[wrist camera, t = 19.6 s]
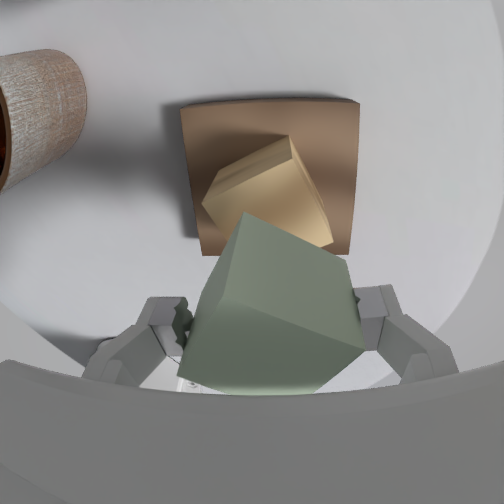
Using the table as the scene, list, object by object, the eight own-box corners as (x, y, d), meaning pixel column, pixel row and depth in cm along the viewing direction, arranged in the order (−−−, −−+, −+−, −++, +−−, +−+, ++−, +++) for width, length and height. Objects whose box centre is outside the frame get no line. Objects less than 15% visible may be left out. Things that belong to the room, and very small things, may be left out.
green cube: (289, 327, 14) (288, 410, 11) (201, 291, 14) (176, 375, 10) (345, 260, 12) (366, 350, 8) (243, 211, 11) (223, 295, 7)
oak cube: (322, 201, 22) (333, 242, 17) (256, 230, 24) (250, 275, 19) (289, 135, 19) (292, 158, 15) (218, 170, 21) (201, 203, 17)
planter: (96, 42, 18) (14, 47, 10) (90, 162, 24) (23, 212, 16) (11, 56, 17) (-63, 75, 10) (13, 156, 24) (-51, 197, 16)
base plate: (343, 238, 26) (348, 254, 24) (208, 239, 28) (202, 255, 26) (351, 99, 20) (359, 103, 18) (189, 104, 21) (179, 109, 19)
